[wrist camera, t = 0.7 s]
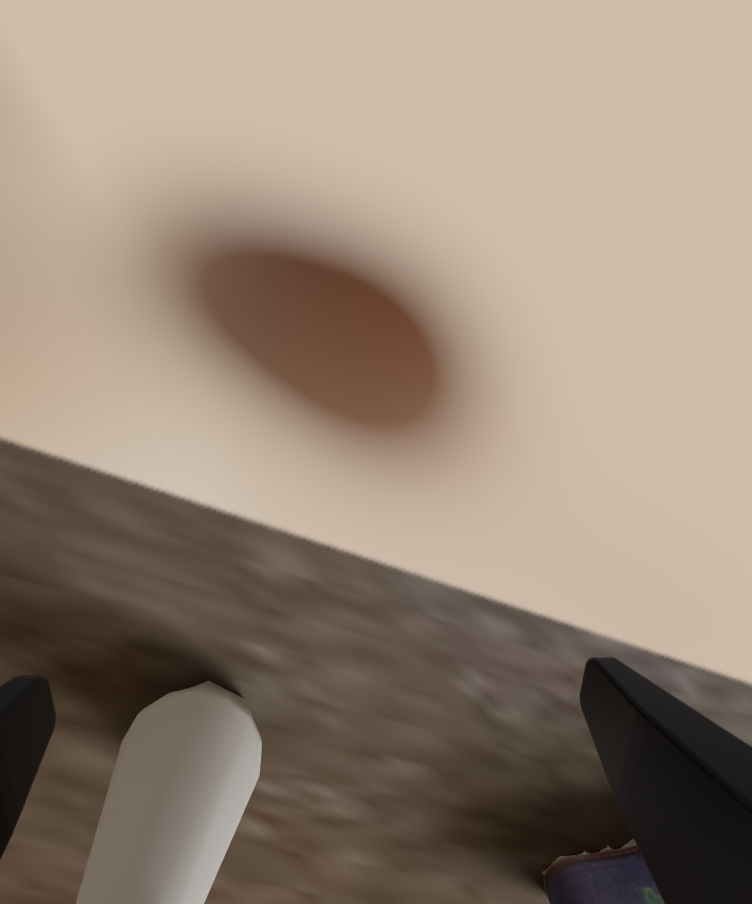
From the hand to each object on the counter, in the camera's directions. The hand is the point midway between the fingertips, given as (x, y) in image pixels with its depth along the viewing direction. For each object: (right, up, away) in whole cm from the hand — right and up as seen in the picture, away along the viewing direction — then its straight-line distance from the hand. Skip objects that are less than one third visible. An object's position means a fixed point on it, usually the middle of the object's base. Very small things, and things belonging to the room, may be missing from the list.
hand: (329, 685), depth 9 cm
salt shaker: (-7, -9, +16) cm, 19 cm away
